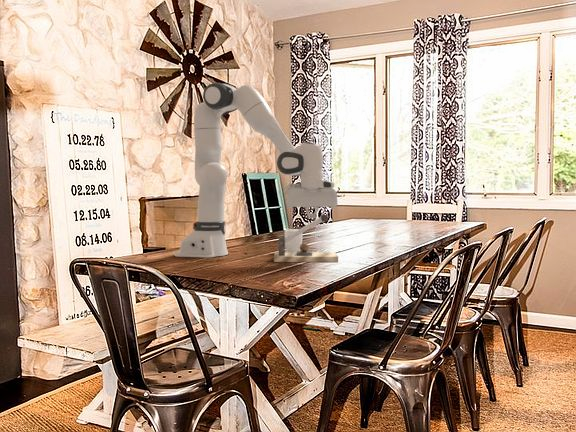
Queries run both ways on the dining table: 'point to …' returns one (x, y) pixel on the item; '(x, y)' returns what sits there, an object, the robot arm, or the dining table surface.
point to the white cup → (293, 241)
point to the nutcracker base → (302, 254)
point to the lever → (306, 227)
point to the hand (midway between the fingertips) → (311, 218)
